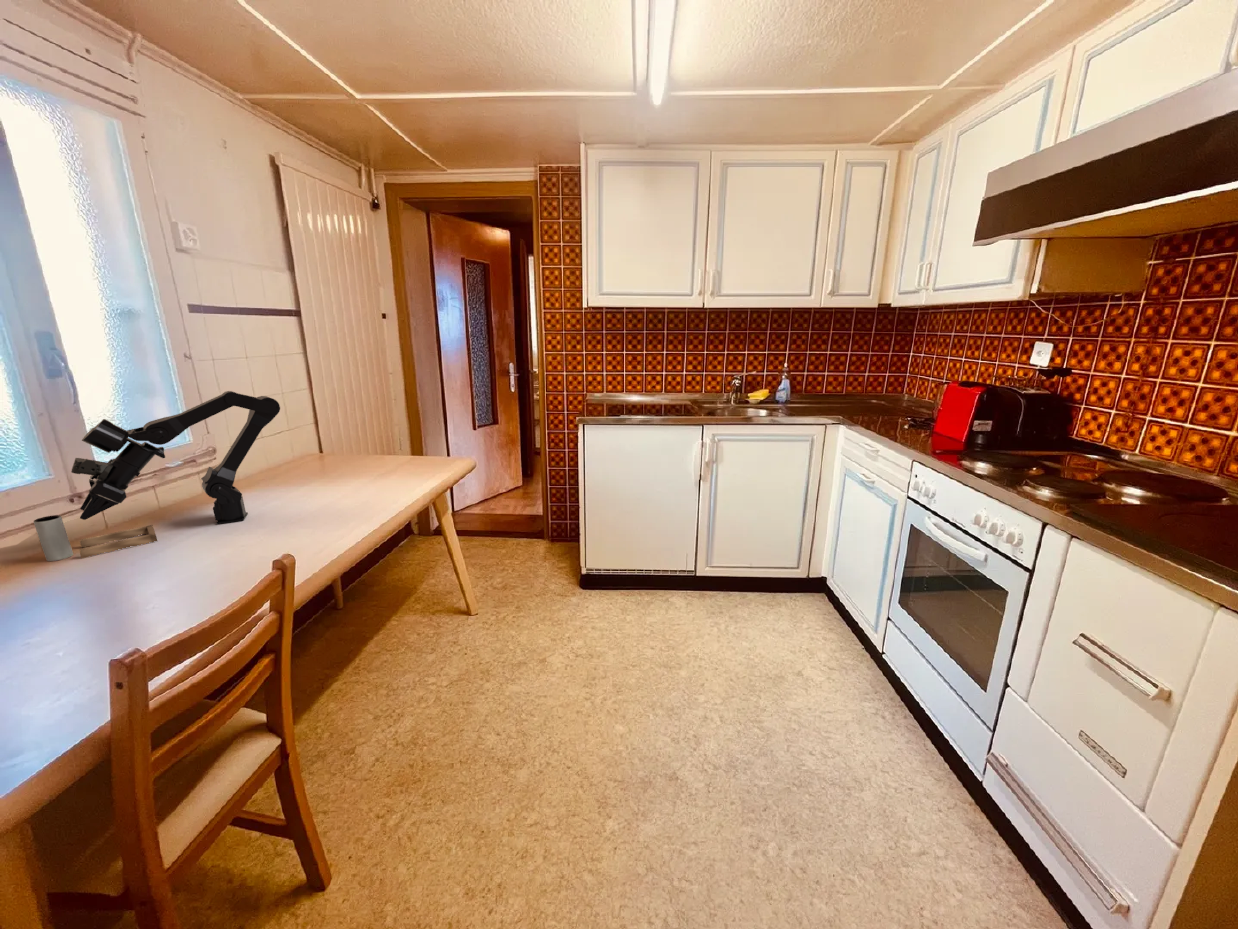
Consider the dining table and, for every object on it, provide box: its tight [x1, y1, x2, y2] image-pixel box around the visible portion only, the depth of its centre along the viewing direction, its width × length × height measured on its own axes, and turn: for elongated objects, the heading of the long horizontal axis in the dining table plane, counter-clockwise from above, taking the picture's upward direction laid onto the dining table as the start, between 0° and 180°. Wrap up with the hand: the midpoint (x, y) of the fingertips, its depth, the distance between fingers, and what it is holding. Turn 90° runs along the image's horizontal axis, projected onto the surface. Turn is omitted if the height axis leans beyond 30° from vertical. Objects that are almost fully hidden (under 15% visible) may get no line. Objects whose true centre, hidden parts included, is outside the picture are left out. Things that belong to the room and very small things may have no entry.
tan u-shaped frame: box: [78, 524, 158, 559], centre depth 131 cm, size 14×10×2 cm
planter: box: [33, 514, 74, 562], centre depth 122 cm, size 4×4×10 cm
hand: (82, 514), depth 125 cm, fingers open, 9 cm apart
